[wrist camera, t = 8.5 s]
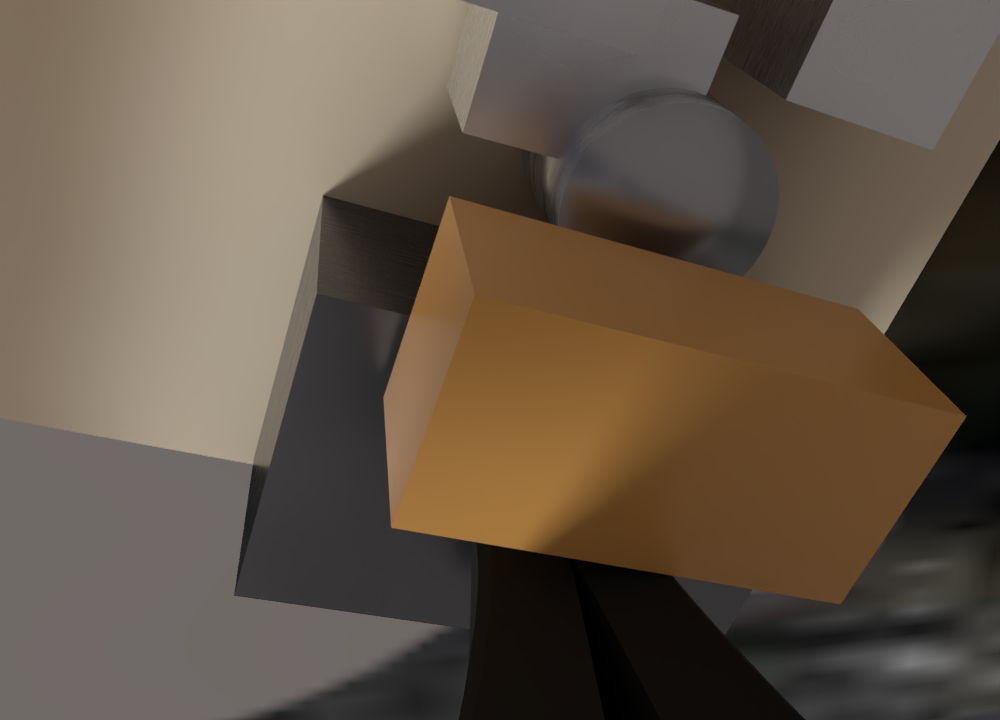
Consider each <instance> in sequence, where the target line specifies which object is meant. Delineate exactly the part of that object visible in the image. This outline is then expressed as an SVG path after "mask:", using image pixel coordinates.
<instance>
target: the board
mask: <svg viewBox="0 0 1000 720" xmlns="http://www.w3.org/2000/svg"><path fill="white" fill-rule="evenodd" d="M712 1H714V2H716V3H717V4H719V5H721V6H723V7H725V8H727V9H728V8H729V6H730V3H731V1H732V0H712ZM469 4H470V3H467V2H464V1H461V0H0V418H1V419H7V420H12V421H18V422H24V423H29V424H34V425H40V426H46V427H51V428H56V429H62V430H67V431H73V432H78V433H84V434H89V435H95V436H101V437H106V438H112V439H117V440H122V441H128V442H134V443H139V444H144V445H150V446H155V447H161V448H166V449H172V450H177V451H183V452H188V453H194V454H199V455H205V456H210V457H216V458H221V459H227V460H232V461H238V462H243V463H249V464H253V460H254V455H255V452H256V448H257V444H258V440H259V436H260V433H261V429H262V425H263V421H264V417H265V413H266V410H267V406H268V402H269V398H270V394H271V391H272V387H273V383H274V379H275V375H276V372H277V368H278V364H279V360H280V356H281V353H282V349H283V345H284V341H285V337H286V334H287V330H288V326H289V322H290V318H291V314H292V311H293V307H294V303H295V299H296V295H297V292H298V288H299V284H300V280H301V276H302V273H303V269H304V265H305V261H306V257H307V254H308V250H309V246H310V242H311V238H312V234H313V231H314V227H315V223H316V219H317V215H318V212H319V208H320V204H321V200H322V196H323V195H324V196H328V197H332V198H336V199H339V200H343V201H347V202H351V203H354V204H358V205H362V206H366V207H369V208H373V209H377V210H381V211H384V212H388V213H392V214H396V215H399V216H403V217H407V218H411V219H415V220H418V221H422V222H426V223H430V224H433V225H437V226H440V223H441V220H442V217H443V214H444V211H445V208H446V205H447V202H448V199H449V196H451V197H455V198H459V199H462V200H466V201H469V202H473V203H477V204H480V205H484V206H488V207H491V208H495V209H498V210H502V211H506V212H509V213H513V214H516V215H520V216H524V217H527V218H531V219H535V220H538V221H542V222H545V223H547V220H546V218H545V216H544V214H543V212H542V210H541V208H540V206H539V204H538V201H537V199H536V197H535V195H534V193H533V191H532V189H531V187H530V184H529V182H528V180H527V178H526V174H525V171H524V167H523V162H522V155H521V149H520V148H516V147H513V146H509V145H505V144H502V143H498V142H494V141H490V140H487V139H483V138H479V137H476V136H472V135H468V134H465V133H462V130H461V127H460V124H459V121H458V118H457V115H456V112H455V110H454V107H453V104H452V101H451V98H450V95H449V92H448V89H447V87H446V85H447V81H448V78H449V74H450V71H451V67H452V64H453V60H454V57H455V53H456V50H457V46H458V43H459V39H460V35H461V32H462V28H463V25H464V21H465V18H466V14H467V11H468V7H469ZM708 93H709V94H710V95H711V96H712V97H714V98H715V99H716V100H717V101H719V102H720V103H721V104H722V105H724V106H725V107H726V108H727V109H729V110H730V111H731V112H732V113H734V114H735V115H736V116H737V117H738V118H740V119H741V120H742V121H743V122H745V123H746V124H747V125H748V126H750V127H751V128H752V129H753V130H754V131H755V132H756V134H757V135H758V136H759V137H760V138H761V139H762V141H763V143H764V144H765V146H766V147H767V149H768V151H769V153H770V155H771V157H772V159H773V162H774V165H775V169H776V172H777V178H778V185H779V203H778V210H777V216H776V220H775V223H774V227H773V230H772V232H771V235H770V237H769V240H768V242H767V244H766V246H765V248H764V249H763V251H762V253H761V255H760V256H759V257H758V259H757V260H756V262H755V263H754V265H753V266H752V267H751V268H750V269H749V270H748V272H747V273H746V274H745V275H744V276H743V277H744V278H748V279H752V280H755V281H759V282H762V283H766V284H770V285H773V286H777V287H781V288H784V289H788V290H791V291H795V292H799V293H802V294H806V295H809V296H813V297H817V298H820V299H824V300H828V301H831V302H835V303H838V304H842V305H846V306H849V307H853V308H857V309H859V310H860V311H861V312H862V313H863V314H864V315H865V316H866V317H867V318H868V319H869V320H870V321H871V322H872V323H873V324H874V325H875V326H876V327H877V328H878V329H879V330H880V331H881V332H882V333H883V334H884V333H885V332H886V330H887V328H888V327H889V325H890V323H891V322H892V320H893V318H894V317H895V315H896V313H897V312H898V310H899V308H900V307H901V305H902V303H903V301H904V300H905V298H906V296H907V295H908V293H909V291H910V290H911V288H912V286H913V285H914V283H915V281H916V280H917V278H918V276H919V275H920V273H921V271H922V269H923V268H924V266H925V264H926V263H927V261H928V259H929V258H930V256H931V254H932V253H933V251H934V249H935V248H936V246H937V244H938V243H939V241H940V239H941V238H942V236H943V234H944V232H945V231H946V229H947V227H948V226H949V224H950V222H951V221H952V219H953V217H954V216H955V214H956V212H957V211H958V209H959V207H960V206H961V204H962V202H963V200H964V199H965V197H966V195H967V194H968V192H969V190H970V189H971V187H972V185H973V184H974V182H975V180H976V179H977V177H978V175H979V174H980V172H981V170H982V169H983V167H984V165H985V163H986V162H987V160H988V158H989V157H990V155H991V153H992V152H993V150H994V148H995V147H996V145H997V143H998V142H999V140H1000V32H999V34H998V36H997V38H996V40H995V41H994V43H993V45H992V47H991V48H990V50H989V52H988V54H987V56H986V57H985V59H984V61H983V63H982V64H981V66H980V68H979V70H978V72H977V73H976V75H975V77H974V79H973V80H972V82H971V84H970V86H969V87H968V89H967V91H966V93H965V95H964V96H963V98H962V100H961V102H960V103H959V105H958V107H957V109H956V111H955V112H954V114H953V116H952V118H951V119H950V121H949V123H948V125H947V126H946V128H945V130H944V132H943V134H942V135H941V137H940V139H939V141H938V142H937V144H936V146H935V148H934V150H930V149H927V148H924V147H922V146H919V145H916V144H913V143H910V142H907V141H904V140H901V139H898V138H895V137H892V136H889V135H886V134H884V133H881V132H878V131H875V130H872V129H869V128H866V127H863V126H860V125H857V124H854V123H851V122H848V121H846V120H843V119H840V118H837V117H834V116H831V115H828V114H825V113H822V112H819V111H816V110H813V109H810V108H808V107H805V106H802V105H799V104H796V103H793V102H790V101H787V100H785V99H783V98H782V97H781V96H779V95H778V94H776V93H775V92H773V91H772V90H770V89H769V88H767V87H766V86H764V85H763V84H761V83H760V82H758V81H757V80H756V79H754V78H753V77H751V76H750V75H748V74H747V73H745V72H744V71H742V70H741V69H739V68H738V67H736V66H735V65H733V64H732V63H731V62H729V61H728V60H726V59H725V58H723V57H722V59H721V61H720V63H719V66H718V68H717V71H716V73H715V75H714V78H713V80H712V83H711V85H710V88H709V90H708Z"/></svg>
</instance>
